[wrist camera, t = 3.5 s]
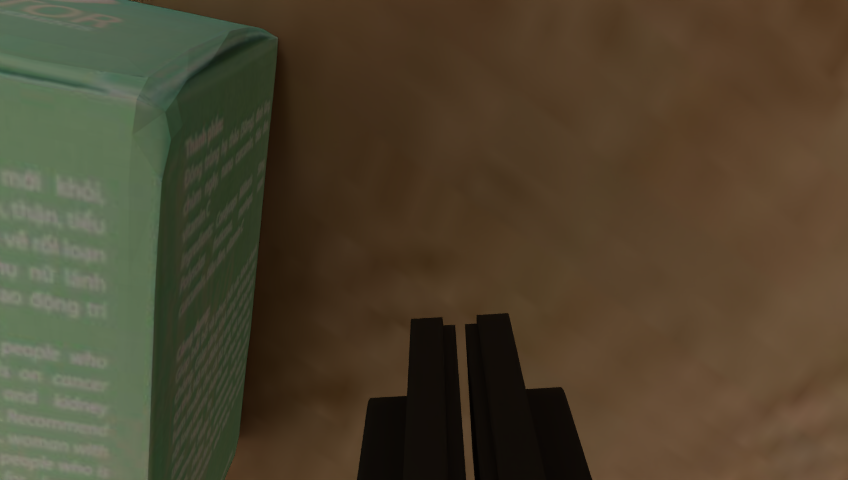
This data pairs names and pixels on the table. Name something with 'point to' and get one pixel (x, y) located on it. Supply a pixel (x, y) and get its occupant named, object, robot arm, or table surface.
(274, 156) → the table surface
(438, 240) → the table surface
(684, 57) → the table surface
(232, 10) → the table surface
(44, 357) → the box
